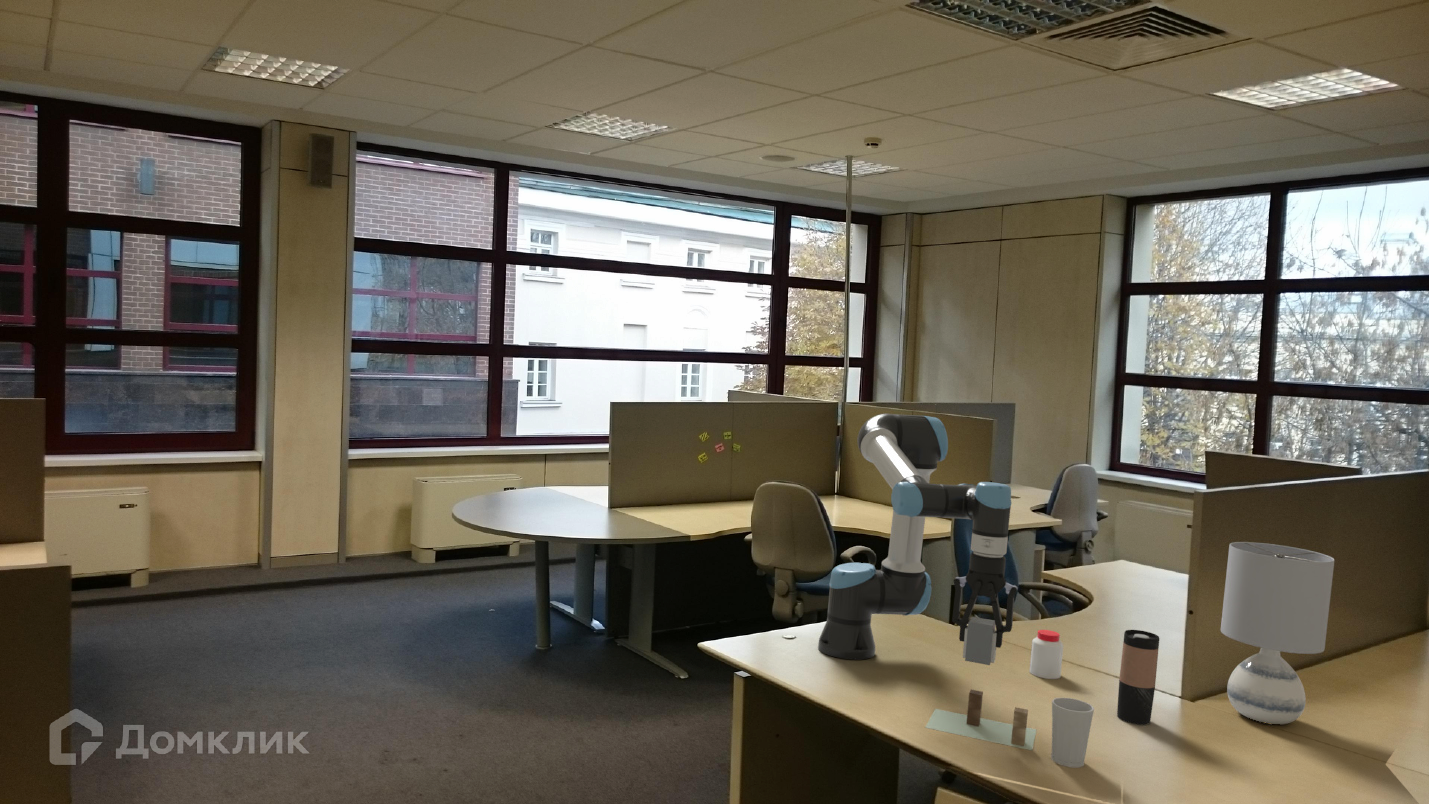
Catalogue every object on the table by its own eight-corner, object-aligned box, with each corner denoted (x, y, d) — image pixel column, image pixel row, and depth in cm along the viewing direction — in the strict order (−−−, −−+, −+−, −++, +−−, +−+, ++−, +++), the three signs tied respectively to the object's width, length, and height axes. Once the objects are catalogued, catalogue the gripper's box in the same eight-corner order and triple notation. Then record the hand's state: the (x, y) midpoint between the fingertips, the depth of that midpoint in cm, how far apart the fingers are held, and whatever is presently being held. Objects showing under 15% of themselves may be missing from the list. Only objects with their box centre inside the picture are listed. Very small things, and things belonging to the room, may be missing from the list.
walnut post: (966, 724, 214) (969, 692, 214) (968, 720, 217) (970, 689, 216) (978, 726, 213) (981, 695, 213) (980, 722, 216) (982, 691, 215)
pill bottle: (1056, 670, 259) (1060, 630, 259) (1063, 680, 252) (1067, 638, 251) (1026, 667, 260) (1030, 627, 259) (1033, 677, 252) (1036, 635, 252)
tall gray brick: (965, 660, 213) (968, 621, 212) (968, 654, 217) (971, 616, 217) (989, 665, 211) (993, 625, 210) (992, 659, 216) (995, 620, 215)
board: (925, 729, 210) (925, 727, 210) (935, 710, 223) (935, 708, 222) (1031, 752, 202) (1032, 750, 202) (1036, 731, 214) (1036, 729, 214)
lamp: (1324, 721, 235) (1343, 555, 233) (1303, 743, 219) (1323, 565, 217) (1227, 695, 250) (1243, 538, 247) (1200, 713, 234) (1217, 547, 232)
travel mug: (1149, 716, 229) (1158, 632, 228) (1152, 728, 222) (1161, 641, 221) (1114, 710, 232) (1122, 627, 230) (1116, 721, 224) (1125, 635, 223)
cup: (1040, 753, 202) (1045, 696, 201) (1077, 755, 203) (1082, 698, 202) (1056, 770, 194) (1062, 711, 193) (1095, 771, 195) (1101, 712, 194)
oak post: (1011, 743, 205) (1014, 711, 205) (1012, 739, 207) (1015, 707, 207) (1023, 746, 204) (1027, 713, 204) (1025, 742, 206) (1028, 709, 206)
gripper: (943, 550, 213) (934, 655, 214) (1030, 562, 206) (1020, 671, 207) (948, 545, 220) (939, 647, 221) (1033, 557, 213) (1023, 662, 214)
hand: (978, 658), depth 214 cm, fingers closed on tall gray brick, 5 cm apart
